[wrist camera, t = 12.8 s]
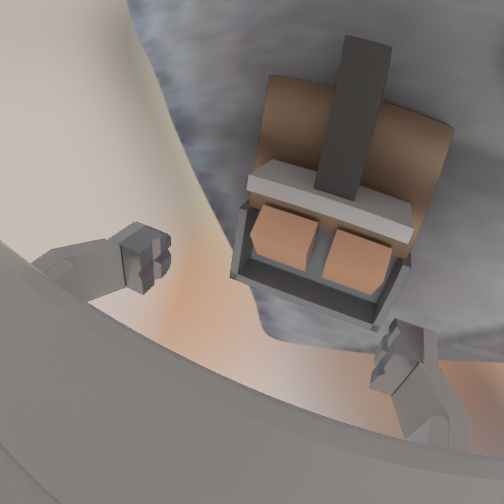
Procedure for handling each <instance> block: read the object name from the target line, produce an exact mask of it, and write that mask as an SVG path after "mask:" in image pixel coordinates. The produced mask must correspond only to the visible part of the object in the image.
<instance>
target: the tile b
mask: <svg viewBox="0 0 504 504" xmlns="http://www.w3.org/2000/svg"><path fill="white" fill-rule="evenodd" d="M391 253H392V249H391V248H389V247H386V246H383V245H381V244H378V243H375V242H372V241H370V240H367V239H364V238H361V237H358V236H356V235H353V234H350V233H347V232H344V231H341V230H338V229H337V232H336V234H335V237H334V240H333V243H332V246H331V249H330V252H329V254H328V257H327V260H326V263H325V267H324V271H323V275H322V278H325V279H327V280H330V281H333V282H336V283H338V284H341V285H344V286H347V287H350V288H352V289H355V290H358V291H361V292H363V293H366V294H369V295H371V294H372V293H373V292H374V291H375V290H376V289H377V288H378V287H379V286H380V285H381V284H382V283H383V282H384V278H385V275H386V271H387V268H388V264H389V261H390V257H391Z"/></svg>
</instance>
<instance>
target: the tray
mask: <svg viewBox="0 0 504 504" xmlns="http://www.w3.org/2000/svg"><path fill="white" fill-rule="evenodd" d="M260 211H261V210H260V209H257V208H254V207H251V206H249V200H248V201H247V202H246V203H244V204H243V205H242V206H241V207H240V208H239V211H238V219H237V226H236V233H235V241H234V248H233V256H232V263H231V271H230V278H232V279H235V280H237V281H240V282H242V283H245V284H247V285H250V286H252V287H255V288H257V289H260V290H263V291H265V292H268V293H270V294H273V295H276V296H278V297H281V298H284V299H286V300H289V301H291V302H294V303H297V304H299V305H302V306H305V307H308V308H310V309H313V310H316V311H318V312H321V313H324V314H326V315H329V316H332V317H335V318H337V319H340V320H343V321H346V322H348V323H351V324H354V325H357V326H360V327H362V328H365V329H368V330H371V331H374V332H378V331H379V329H380V327H381V325H382V324H383V322H384V320H385V318H386V316H387V314H388V313H389V311H390V309H391V307H392V305H393V303H394V301H395V300H396V298H397V296H398V294H399V292H400V290H401V288H402V286H403V284H404V282H405V280H406V278H407V276H408V274H409V272H410V270H411V254H410V252H409V255H408V257H407V259H406V260H404V259H402V258H399V257H396V256H393V255H391V257H390V261H389V264H388V268H387V271H386V275H385V278H384V282H383V283H382V284H381V285H380V286H379V287H378V288H377V289H376V290H375V291H374V292H373V293H372V294H371V295H369V294H366V293H363V292H361V291H358V290H355V289H352V288H350V287H347V286H344V285H341V284H338V283H336V282H333V281H330V280H327V279H325V278H322V275H323V271H324V267H325V263H326V260H327V257H328V254H329V252H330V249H331V246H332V243H333V240H334V237H335V234H332V233H329V232H326V231H323V230H320V229H318V230H317V238H316V245H315V247H314V250H313V253H312V255H311V258H310V261H309V263H308V266H307V268H306V271H302V270H300V269H297V268H294V267H291V266H289V265H286V264H283V263H280V262H277V261H275V260H272V259H269V258H266V257H264V256H261V255H258V254H257V252H256V250H255V247H254V244H253V242H252V239H251V236H250V233H251V231H252V229H253V227H254V224H255V222H256V220H257V218H258V216H259V213H260Z"/></svg>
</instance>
